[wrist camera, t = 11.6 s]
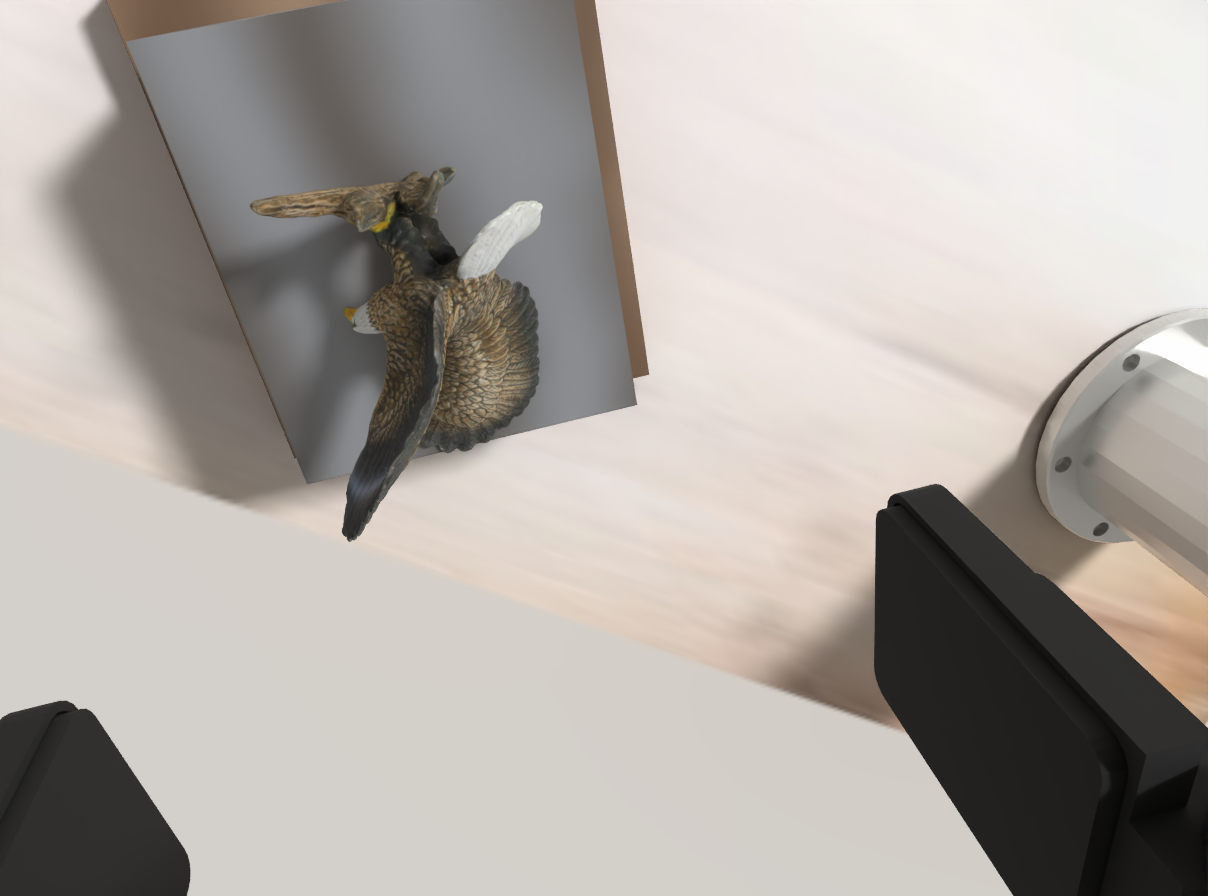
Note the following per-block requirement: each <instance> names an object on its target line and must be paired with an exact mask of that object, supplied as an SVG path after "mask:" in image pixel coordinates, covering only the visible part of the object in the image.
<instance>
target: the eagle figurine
mask: <svg viewBox="0 0 1208 896" xmlns="http://www.w3.org/2000/svg"><path fill="white" fill-rule="evenodd" d="M455 174H456V170H455V169H454V168H452V167H447V166H446V167H443V168H440V169H439V170H434V171H433V173H432V175H431V176H430V177H423V174H421V173H420V172H416V171H414V172H411V173H410V174H409V176H408V177H407V179H406V180H405V181H402V182H387V183H380V184H375V185H370V186H363V187H340V188H330V189H325V190H317V191H309V192H304V193H297V194H290V195H277V196H273V197H269V198H265V199H259V200H255V201H253V202H252V203H251V204H250V208H251V210H253V211H254V212H255V213H256V214H258V215H261V216H270V217H275V218H299V217H316V218H318V217H320V216H323V215H335V216H337V217H341V218H344V219H346V220H347V221H348V222H350V223H352V224H354V225H355V228H356V230H357V231H358V232H364V231H366V230H370V231H372V233H373V236H374V237H375V240H376V242H377V245H378V246H379V247H380V248H381V249H383V250H384V251H385V252H386V253H387V254H388V255H389V256H390V258H391V264H392V267H393V270H394V282H392V283H390V284H387V285H386V286H384V287H382V288H380V289H379V290H377V291H376V292H375V293H374V294H373V296H372V297H371V298H370V299H369V300H368V301H367V302H366V303H365V304H364V305H362V306H360V307H358V308H354V309H350V308H348V307H346V308H345V309H344V314H345V316H346V317H347V318H348V320H349V321H351V322H352V323H353V329H354V330H355V331H356V332H360V333H364V334H378V333H382V334H383V336H384V338H385V341H386V345H387V367H386V375H385V381H384V386H383V389H382V392H381V394H380V397H379V399H378V401H377V404H376V406H375V409H374V411H373V413H372V417H371V421H370V424H369V431H368V436H367V440H366V445H365V446H364V448H363V450H362V451H361V453H360V455H359V457H358V459H357V461H356V463H355V466H354V469H353V471H352V474H351V476H350V479H349V483H348V487H347V492H346V496H347V504H346V508H345V515H344V523H343V528H342V533H343V535H344V536H345V537H347V540H348V541H349V542H351V541H352V540H355V539H356V538H357V536H360V535H361V533H362V532H363V530H364V528H365V525H366V524H367V523H369V521H370V519H371V518H372V515H373V513H374V512H375V511H376V509H377V507H378V505H379V504H380V502H381V501H382V500H383V499H384V497H385V496H386V494H387V492H388V490H389V489H390V487H391V486H392V485H393V483H394V482H395V481H396V480H397V478H398V477H399V475H400V473H401V472H402V471H403V470H404V469H405V467H406V466H407V465H408V463H409V461H410V460H411V458H412V456H413V455H414V453H415V452H416V450H417V447H418V445H419V443H420V440H421V441H422V442H423V444H424V445H425V446H426V447H432V446H435V445H439V447H440V449H441V450H442V451H444V452H446V453H450V452H452V451H454V450H455V448H457V449H459V450H460V451H468V450H471V449H472V448H473V446H474V445H475V444H476V443H477V442H481V443H487V442H489V441H490V440H491V439H492V438H493V436H494V435H495V433H496V430H497V427H502V428H505V427H508V426H509V425H510V424H511V420H512V418H513V417H518V416H520V415H521V414H523V411H524V409H525V408H526V407H527V406H528V405H529V403H530V398H532V397H534V395H535V393H536V386H537V385H538V384H539V376H538V373H539V365H540V360H539V358H538V357H537V355H538V353H539V347H538V343H539V337H538V334H537V333H536V332H537V329H538V326H539V322H538V310H537V309H536V305H535V301H534V300H533V299H532V298H531V296H530V290H529V288H528V287H527V286H523V284H522V283H521V282H520V281H517V282H515V283H512V282H511V281H510V280H509V279H507V278H504V279H502V280H500V277H499V276H498V274H496V273H495V271H496V268H497V266H498V265H499V263H500V262H501V260H502V259H503V258H504V256H505V255H506V254H507V252H508V251H509V250H510V248H512V247H513V246H515V245H516V244H517V243H519V242H521V241H522V240H524V239H525V238H527V237H528V236H530V235H531V234H532V233H533V232H534V231H535V230H536V229H537V227H538V226H539V224H540V217H541V215H540V213H541V210H542V208H543V205H542V204H541V203H538V202H537V201H529V202H528V201H520V202H516V203H514V204H512V205H511V206H510V207H509V208H508V209H507V210H505V211H503V212H502V213H501V214H500V215H498V216H497V217H496V218H494V219H492V220H490V221H489V222H488V223H487V224H486V225H485V226H484V227H483V228H482V229H481V230H480V231H479V233H478V234H477V235H476V236H475V237H474V239H473V240H472V241H471V242H470V243H469V245H468V246H467V247H466V249H465V250H464V252H463V253H462V255H461V256H460V257H459V256H458V255H457V254H456V250H455V248H454V247H453V246H451V245H450V243H449V242H448V240H447V239H446V238H445V236H444V235H443V233H442V231H441V230H440V229H439V225H438V221H437V220H436V219H435V218H432V217H431V215H434V214H436V213H437V206H438V200H439V197H440V194H441V192H442V190H443V187H446V186H447V185H448V184H449V183H450V181H451V180H452V179H453V177H454V176H455Z"/></svg>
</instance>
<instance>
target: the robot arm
mask: <svg viewBox="0 0 1208 896" xmlns="http://www.w3.org/2000/svg"><path fill="white" fill-rule="evenodd" d="M1036 484H1037V488H1038V491H1039V495H1040V498H1041V501H1042V503H1043V504H1044V506H1045V507H1046V509H1047V511H1048V512H1049V514H1050V515H1051V516H1053V517H1054V518H1055V519H1056V520H1057V521H1058V522H1059V523H1060V524H1061V525H1063V526H1064V527H1065V528H1066V529H1068V530H1069V531H1071V532H1072V533H1074V534H1075V535H1077V536H1079V537H1081V538H1084V539H1087V540H1090V541H1094V542H1104V543H1120V542H1129V541H1135V542H1137V543H1138V544H1139V545H1141V546H1142V547H1143V548H1145V549H1146V550H1147V551H1148V552H1150V553H1151V554H1152V555H1154V556H1155V557H1156V558H1158V559H1159V560H1160V561H1161V562H1163V563H1164V564H1165V565H1167V566H1168V567H1169V568H1171V569H1172V570H1173V571H1174V572H1176V573H1177V574H1178V575H1180V576H1181V577H1182V578H1184V579H1185V580H1186V581H1187V582H1189V583H1190V584H1191V585H1193V586H1194V587H1195V588H1197V589H1198V590H1199V591H1201V592H1202V593H1203V594H1204V595H1206V596H1207V597H1208V309H1188V310H1184V311H1180V312H1176V313H1172V314H1168V315H1164V316H1162V317H1159V318H1157V319H1155V320H1152V321H1150V322H1148V323H1145V324H1143V325H1141V326H1139V327H1137V328H1136V329H1134V330H1132V331H1131V332H1129V333H1127V334H1126V335H1124V336H1123V337H1121V338H1119V339H1118V340H1116V341H1115V342H1114V343H1112V344H1111V345H1110V346H1109V347H1107V348H1106V349H1105V350H1104V351H1103V352H1101V353H1100V354H1099V355H1098V356H1096V357H1095V358H1094V359H1093V360H1092V361H1091V362H1090V363H1089V364H1088V365H1087V366H1086V367H1085V368H1084V369H1083V370H1082V371H1081V372H1080V374H1079V375H1078V376H1077V377H1076V378H1075V379H1074V380H1073V382H1072V383H1071V384H1070V386H1069V387H1068V388H1067V390H1066V391H1065V393H1064V394H1063V395H1062V397H1061V398H1060V399H1059V401H1058V403H1057V405H1056V407H1055V409H1054V410H1053V412H1052V414H1051V416H1050V418H1049V419H1048V421H1047V424H1046V427H1045V430H1044V432H1043V435H1042V438H1041V440H1040V443H1039V448H1038V454H1037V460H1036ZM874 669H875V675H876V680H877V683H878V686H879V688H880V690H881V693H882V695H883V696H884V698H885V700H886V701H887V703H888V704H889V706H890V707H891V709H892V710H893V712H894V713H895V715H896V717H897V718H898V720H899V721H900V723H901V724H902V726H903V727H904V729H905V730H906V732H907V733H908V735H909V736H910V738H911V739H912V741H913V742H914V744H915V746H916V747H917V749H918V750H919V752H920V753H921V755H922V756H923V758H924V759H925V761H926V763H927V764H928V766H929V767H930V769H931V770H932V772H933V773H934V775H935V776H936V778H937V779H938V781H939V782H940V784H941V786H942V787H943V788H944V790H945V792H946V793H947V795H948V796H949V798H950V799H951V801H952V802H953V804H954V805H955V807H956V808H957V810H958V812H959V813H960V815H961V816H962V818H963V819H964V821H965V822H966V824H967V825H968V827H969V828H970V830H971V831H972V833H973V835H974V836H975V837H976V839H977V841H978V842H979V844H980V845H981V847H982V848H983V850H984V851H985V853H986V854H987V856H988V858H989V859H990V861H991V862H992V864H993V865H994V867H995V868H996V870H997V871H998V873H999V874H1000V876H1001V877H1002V879H1003V880H1004V882H1005V884H1006V885H1007V887H1008V888H1009V890H1010V891H1011V893H1012V894H1013V896H1208V728H1207V727H1206V726H1205V725H1204V724H1203V723H1202V722H1201V721H1200V720H1199V719H1198V718H1197V717H1196V716H1194V715H1193V714H1192V713H1191V712H1190V711H1189V710H1188V709H1187V708H1186V707H1185V706H1184V705H1183V704H1182V703H1181V702H1180V701H1179V700H1177V699H1176V698H1175V697H1174V696H1173V695H1172V694H1171V693H1170V692H1169V691H1168V690H1167V689H1166V688H1165V687H1164V686H1163V685H1161V684H1160V683H1159V682H1158V681H1157V680H1156V679H1155V678H1154V677H1153V676H1152V675H1151V674H1150V673H1149V672H1148V671H1147V670H1146V669H1144V668H1143V667H1142V666H1141V665H1140V664H1139V663H1138V662H1137V661H1136V660H1135V659H1134V658H1133V657H1132V656H1131V655H1130V654H1129V653H1127V652H1126V651H1125V650H1124V649H1123V648H1122V647H1121V646H1120V645H1119V644H1118V643H1117V642H1116V641H1115V640H1114V639H1113V638H1112V637H1110V636H1109V635H1108V634H1107V633H1106V632H1105V631H1104V630H1103V629H1102V628H1101V627H1100V626H1099V625H1098V624H1097V623H1096V622H1095V621H1093V620H1092V619H1091V618H1090V617H1089V616H1088V615H1087V614H1086V613H1085V612H1084V611H1083V610H1082V609H1081V608H1080V607H1079V606H1078V605H1076V604H1075V603H1074V602H1073V601H1072V600H1071V599H1070V598H1069V597H1068V596H1067V595H1066V594H1065V593H1064V592H1063V591H1062V590H1061V589H1059V588H1058V587H1057V586H1056V585H1055V584H1054V583H1053V582H1051V581H1050V580H1049V579H1047V578H1046V577H1045V576H1043V575H1040V574H1037V573H1034V572H1033V571H1032V570H1031V569H1030V568H1029V567H1028V566H1027V565H1026V564H1025V563H1024V562H1023V561H1022V560H1021V559H1020V558H1018V557H1017V556H1016V555H1015V554H1014V553H1013V552H1012V551H1011V550H1010V549H1009V548H1008V547H1007V546H1006V545H1005V544H1004V543H1003V542H1002V541H1001V540H1000V539H999V538H998V537H996V536H995V535H994V534H993V533H992V532H991V531H990V530H989V529H988V528H987V527H986V526H985V525H984V524H983V523H982V522H981V521H980V520H979V519H978V518H977V517H975V516H974V515H973V514H972V513H971V512H970V511H969V510H968V509H967V508H966V507H965V506H964V505H963V504H962V503H961V502H960V501H959V500H958V499H957V498H956V497H955V496H953V495H952V494H951V493H950V492H949V491H948V490H947V489H946V488H945V487H943V486H942V485H939V484H933V485H929V486H925V487H921V488H917V489H913V490H909V491H905V492H901V493H897V494H894V495H892V496H890V498H889V500H888V505H887V508H886V509H882V510H880V511H878V513H877V516H876V557H875V644H874ZM189 882H190V863H189V859H188V855H187V853H186V851H185V849H184V848H183V846H182V845H181V843H180V842H179V840H178V839H177V837H176V836H175V834H174V833H173V831H172V830H171V828H170V827H169V825H168V824H167V823H166V821H165V819H164V818H163V816H162V815H161V813H160V812H159V810H158V809H157V807H156V806H155V804H154V803H153V802H152V800H151V799H150V797H149V795H148V794H147V792H146V791H145V789H144V788H143V787H142V785H141V784H140V782H139V781H138V779H137V778H136V776H135V775H134V773H133V772H132V770H131V769H130V767H129V766H128V764H127V763H126V761H125V760H124V758H123V757H122V755H121V754H120V752H119V751H118V749H117V748H116V746H115V745H114V743H113V742H112V740H111V739H110V737H109V736H108V734H107V733H106V731H105V730H104V728H103V727H102V725H101V724H100V722H99V721H98V719H97V718H96V716H95V715H94V714H93V713H92V712H91V711H89V710H87V709H80V710H78V709H77V708H76V707H75V705H74V704H72V703H70V702H68V701H58V702H53V703H49V704H45V705H41V706H37V707H33V708H29V709H25V710H21V711H17V712H13V713H9V714H8V715H6V716H4V717H2V719H1V720H0V896H187V892H188V888H189Z"/></svg>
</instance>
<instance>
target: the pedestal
mask: <svg viewBox="0 0 1208 896" xmlns="http://www.w3.org/2000/svg"><path fill="white" fill-rule="evenodd" d="M106 1H107V3H108V5H109V8H110V10H111V13H112V15H113V18H114V20H115V22H116V25H117V27H118V30H119V32H120V35H121V37H122V39H123V42H124V44H125V47H126V49H127V52H128V54H129V56H130V59H131V61H132V64H133V66H134V69H135V71H136V73H137V76H138V78H139V81H140V83H141V86H142V88H143V90H144V93H145V95H146V98H147V100H148V103H149V105H150V107H151V110H152V112H153V115H154V117H155V120H156V122H157V124H158V127H159V129H160V132H161V134H162V137H163V139H164V142H165V144H166V146H167V149H168V151H169V154H170V156H171V159H172V161H173V163H174V166H175V168H176V171H177V173H178V176H179V178H180V180H181V183H182V185H183V188H184V190H185V193H186V195H187V197H188V200H189V202H190V205H191V207H192V210H193V212H194V214H195V217H196V219H197V222H198V224H199V227H200V229H201V231H202V234H203V236H204V239H205V241H206V244H207V246H208V248H209V251H210V253H211V256H212V258H213V261H214V263H215V266H216V268H217V270H218V273H219V275H220V278H221V280H222V283H223V285H224V287H225V290H226V292H227V295H228V297H229V300H230V302H231V304H232V307H233V309H234V312H235V314H236V317H237V319H238V321H239V324H240V326H241V329H242V331H243V334H244V336H245V338H246V341H247V343H248V346H249V348H250V351H251V353H252V355H253V358H254V360H255V363H256V365H257V368H258V370H259V372H260V375H261V377H262V380H263V382H264V385H265V387H266V390H267V392H268V394H269V397H270V399H271V402H272V404H273V407H274V409H275V411H276V414H277V416H278V419H279V421H280V424H281V426H282V428H283V431H284V433H285V436H286V438H287V441H288V443H289V445H290V448H291V450H292V453H293V455H294V458H297V460H298V462H299V465H300V467H301V470H302V472H303V475H304V477H305V480H306V482H307V484H310V483H314V482H318V481H322V480H327V479H331V478H335V477H339V476H343V475H347V474H351V473H352V471H353V469H354V466H355V463H356V461H357V459H358V457H359V455H360V453H361V451H362V450H363V448H364V446H365V445H366V440H367V436H368V431H369V424H370V421H371V417H372V413H373V411H374V409H375V406H376V404H377V401H378V399H379V397H380V394H381V392H382V389H383V386H384V381H385V375H386V367H387V345H386V341H385V338H384V336H383V334H382V333H378V334H364V333H360V332H356V331H355V330H354V329H353V323H352V322H351V321H349V320H348V318H347V317H346V316H345V314H344V309H345V308H346V307H348V308H350V309H354V308H358V307H360V306H362V305H364V304H365V303H366V302H367V301H368V300H369V299H370V298H371V297H372V296H373V294H374V293H375V292H376V291H377V290H379V289H380V288H382V287H384V286H386V285H387V284H390V283H392V282H394V270H393V267H392V264H391V258H390V256H389V255H388V254H387V253H386V252H385V251H384V250H383V249H381V248H380V247H379V246H378V245H377V242H376V240H375V237H374V236H373V233H372V231H370V230H366V231H364V232H358V231H357V230H356V228H355V225H354V224H352V223H350V222H348V221H347V220H346V219H344V218H341V217H337V216H335V215H323V216H320V217H318V218H316V217H299V218H275V217H270V216H261V215H258V214H256V213H255V212H254V211H253V210H251V208H250V204H251V203H252V202H253V201H255V200H259V199H265V198H269V197H273V196H277V195H290V194H297V193H304V192H309V191H317V190H325V189H330V188H340V187H363V186H370V185H375V184H380V183H387V182H402V181H405V180H406V179H407V177H408V176H409V174H410V173H411V172H414V171H416V172H420V173H421V174H423V177H430V176H431V175H432V173H433V171H434V170H439V169H440V168H443V167H446V166H447V167H452V168H454V169H455V170H456V174H455V176H454V177H453V179H452V180H451V181H450V183H449V184H448V185H447V186H446V187H443V190H442V192H441V194H440V197H439V200H438V206H437V213H436V214H434V215H431V217H432V218H435V219H436V220H437V221H438V225H439V229H440V230H441V231H442V233H443V235H444V236H445V238H446V239H447V240H448V242H449V243H450V245H451V246H453V247H454V248H455V250H456V254H457V255H458V256H459V257H460V256H461V255H462V253H463V252H464V250H465V249H466V247H467V246H468V245H469V243H470V242H471V241H472V240H473V239H474V237H475V236H476V235H477V234H478V233H479V231H480V230H481V229H482V228H483V227H484V226H485V225H486V224H487V223H488V222H489V221H490V220H492V219H494V218H496V217H497V216H498V215H500V214H501V213H502V212H503V211H505V210H507V209H508V208H509V207H510V206H511V205H512V204H514V203H516V202H520V201H528V202H529V201H537V202H538V203H541V204H542V205H543V208H542V210H541V213H540V215H541V217H540V224H539V226H538V227H537V229H536V230H535V231H534V232H533V233H532V234H531V235H530V236H528V237H527V238H525V239H524V240H522V241H521V242H519V243H517V244H516V245H515V246H513V247H512V248H510V250H509V251H508V252H507V254H506V255H505V256H504V258H503V259H502V260H501V262H500V263H499V265H498V266H497V268H496V271H495V273H496V274H498V276H499V277H500V280H502V279H504V278H507V279H509V280H510V281H511V282H512V283H515V282H517V281H520V282H521V283H522V284H523V286H527V287H528V288H529V290H530V296H531V298H532V299H533V300H534V301H535V305H536V309H537V310H538V322H539V326H538V329H537V332H536V333H537V334H538V337H539V343H538V347H539V353H538V355H537V357H538V358H539V360H540V365H539V373H538V376H539V384H538V385H537V386H536V393H535V395H534V397H532V398H530V403H529V405H528V406H527V407H526V408H525V409H524V411H523V414H521V415H520V416H518V417H513V418H512V420H511V424H510V425H509V426H508V427H505V428H502V427H497V430H496V433H495V435H494V436H493V438H492V439H491V440H493V439H497V438H501V437H505V436H510V435H514V434H518V433H522V432H526V431H530V430H535V429H539V428H543V427H547V426H551V425H555V424H560V423H564V422H568V421H572V420H576V419H580V418H585V417H589V416H593V415H597V414H601V413H605V412H610V411H614V410H618V409H622V408H626V407H630V406H635V405H637V402H636V396H635V389H634V383H633V378H637V377H641V376H645V375H649V371H648V364H647V357H646V350H645V343H644V336H643V329H642V322H641V316H640V309H639V302H638V295H637V288H636V281H635V274H634V267H633V261H632V254H631V247H630V240H629V233H628V226H627V219H626V212H625V206H624V199H623V192H622V185H621V178H620V171H619V164H618V157H617V150H616V144H615V137H614V130H613V123H612V116H611V109H610V102H609V95H608V89H607V82H606V75H605V68H604V61H603V54H602V47H601V40H600V34H599V27H598V20H597V13H596V6H595V0H106ZM477 443H481V442H477ZM455 449H456V448H455ZM439 452H443V451H442V450H441V449H440V447H439V445H435V446H432V447H426V446H425V445H424V444H423V442H422V441H421V440H420V443H419V445H418V447H417V450H416V452H415V453H414V455H413V456H412V458H411V459H414V458H418V457H422V456H426V455H431V454H435V453H439Z"/></svg>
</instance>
